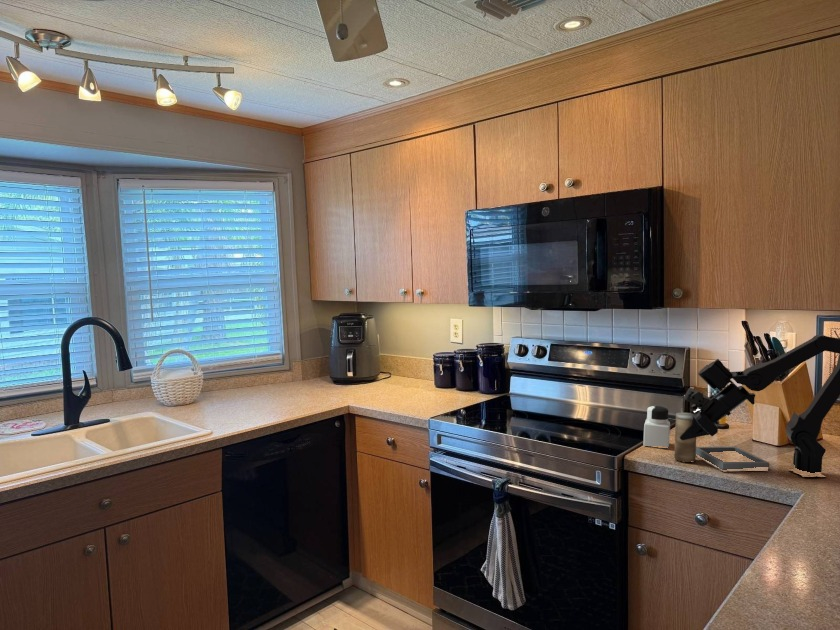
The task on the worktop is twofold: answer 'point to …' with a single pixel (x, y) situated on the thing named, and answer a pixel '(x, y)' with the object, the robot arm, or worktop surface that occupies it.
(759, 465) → the tray
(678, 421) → the translucent brown jar
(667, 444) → the medicine bottle
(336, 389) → the worktop surface
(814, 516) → the worktop surface
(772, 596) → the worktop surface
